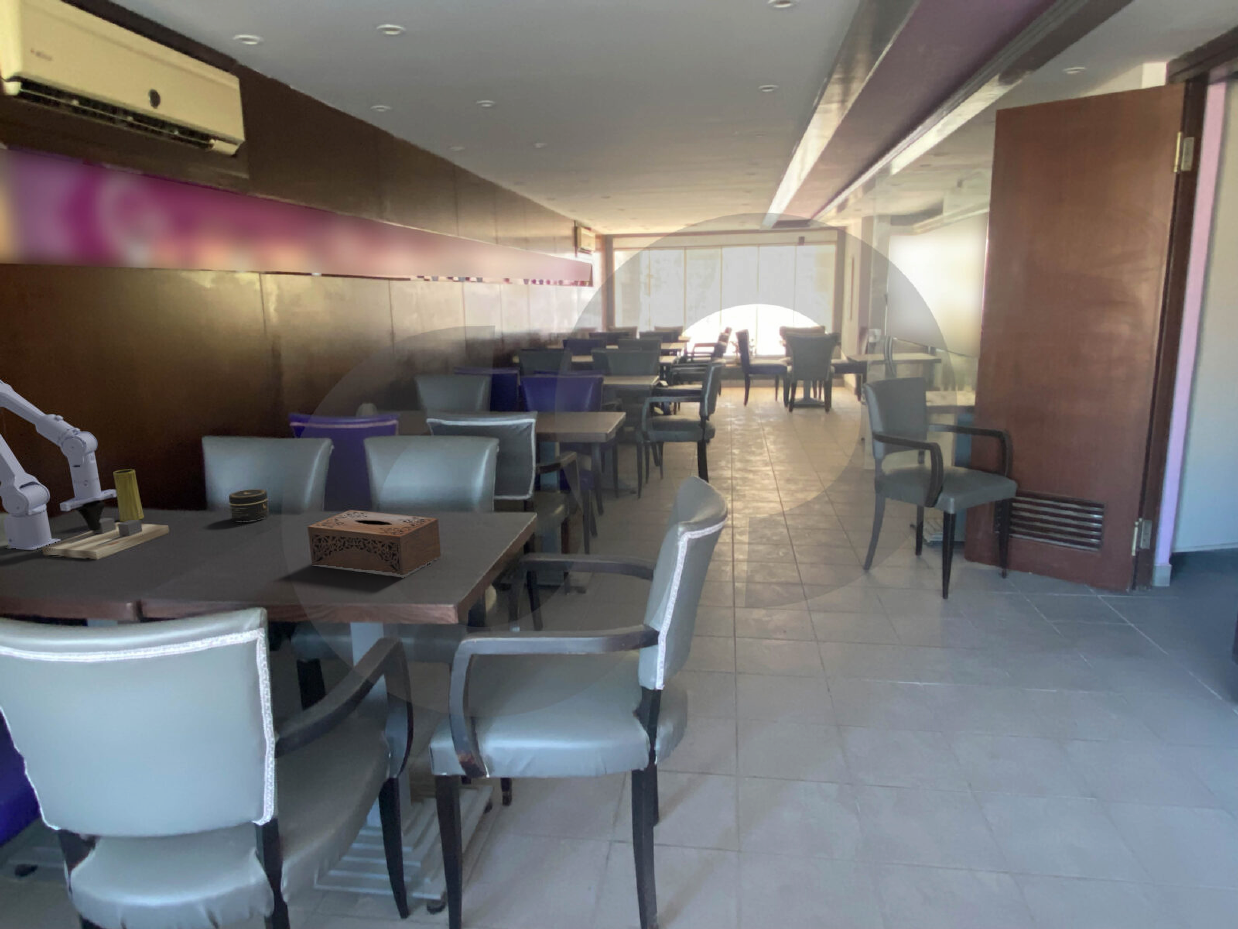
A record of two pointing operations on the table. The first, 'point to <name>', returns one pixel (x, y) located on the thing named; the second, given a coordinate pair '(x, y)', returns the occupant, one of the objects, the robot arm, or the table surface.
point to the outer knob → (130, 527)
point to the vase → (128, 495)
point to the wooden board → (103, 542)
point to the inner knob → (106, 525)
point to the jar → (249, 505)
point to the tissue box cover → (375, 541)
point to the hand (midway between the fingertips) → (94, 530)
